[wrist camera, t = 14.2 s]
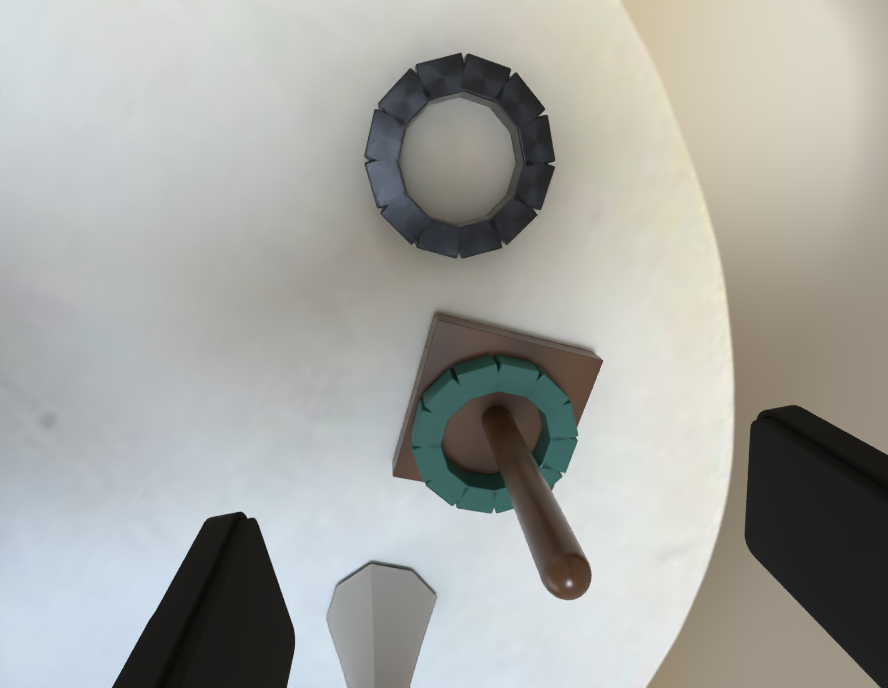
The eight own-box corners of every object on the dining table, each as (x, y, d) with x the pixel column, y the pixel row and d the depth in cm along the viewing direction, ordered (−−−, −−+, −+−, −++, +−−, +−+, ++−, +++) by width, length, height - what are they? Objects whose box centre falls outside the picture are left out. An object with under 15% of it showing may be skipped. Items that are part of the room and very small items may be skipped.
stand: (392, 463, 31) (394, 684, 17) (435, 312, 28) (478, 434, 14) (539, 491, 32) (647, 710, 19) (593, 352, 30) (764, 493, 16)
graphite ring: (350, 226, 26) (348, 229, 24) (392, 36, 23) (393, 26, 22) (512, 270, 28) (519, 276, 26) (568, 97, 25) (579, 92, 24)
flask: (367, 545, 32) (358, 695, 23) (454, 589, 34) (479, 744, 25) (307, 619, 34) (276, 789, 24) (395, 658, 36) (397, 829, 26)
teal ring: (396, 483, 29) (397, 499, 28) (434, 340, 27) (437, 349, 25) (539, 506, 31) (547, 523, 30) (588, 373, 28) (599, 384, 27)
